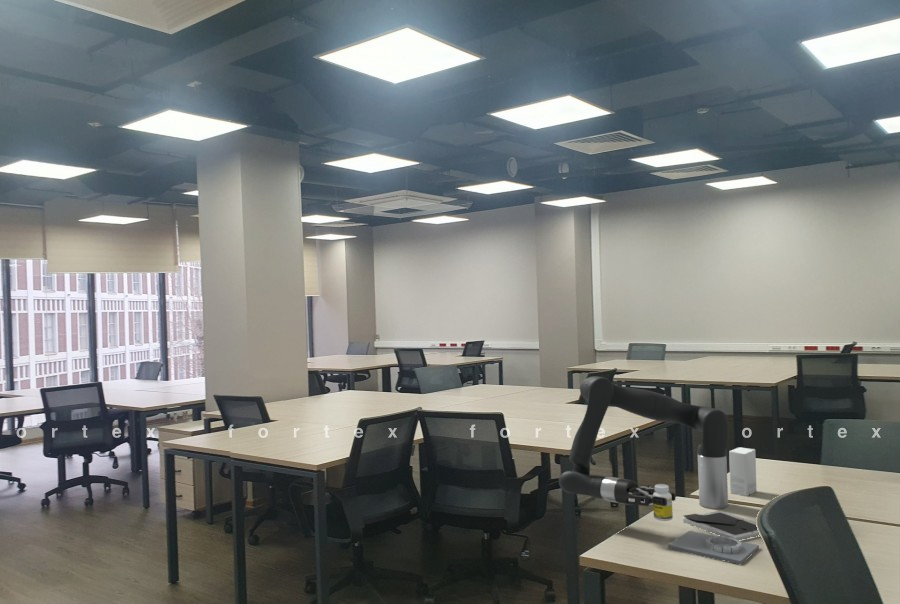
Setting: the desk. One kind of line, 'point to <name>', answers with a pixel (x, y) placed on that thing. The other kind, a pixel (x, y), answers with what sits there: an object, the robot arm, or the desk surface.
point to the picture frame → (723, 524)
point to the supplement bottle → (663, 511)
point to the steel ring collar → (724, 549)
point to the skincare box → (742, 471)
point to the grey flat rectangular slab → (697, 545)
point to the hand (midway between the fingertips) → (670, 499)
